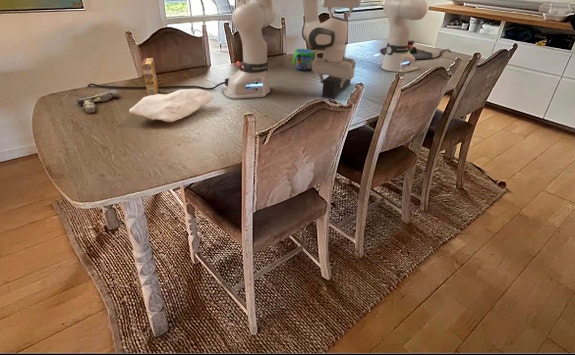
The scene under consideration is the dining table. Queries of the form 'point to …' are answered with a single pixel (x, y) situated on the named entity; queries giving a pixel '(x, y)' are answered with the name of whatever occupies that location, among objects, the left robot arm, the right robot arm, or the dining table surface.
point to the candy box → (150, 76)
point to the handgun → (95, 100)
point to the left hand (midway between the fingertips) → (331, 84)
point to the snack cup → (303, 58)
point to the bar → (333, 86)
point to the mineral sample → (414, 51)
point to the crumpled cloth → (171, 104)
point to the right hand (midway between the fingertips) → (339, 16)
